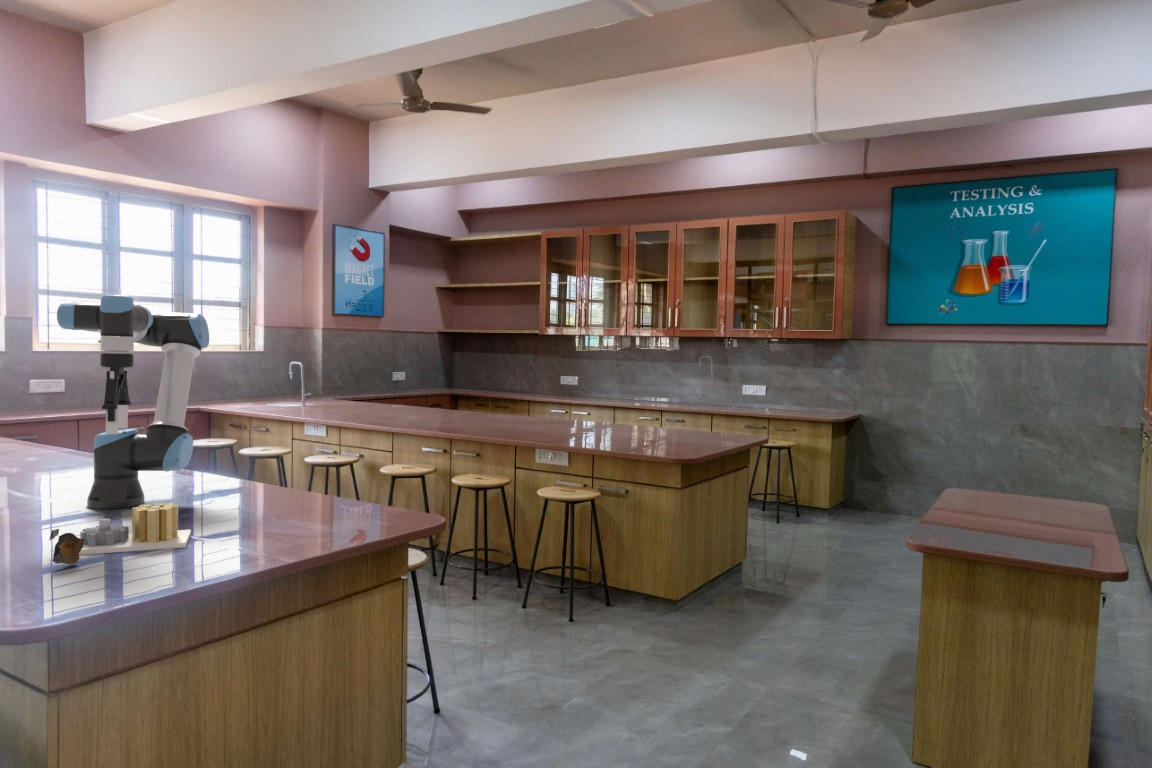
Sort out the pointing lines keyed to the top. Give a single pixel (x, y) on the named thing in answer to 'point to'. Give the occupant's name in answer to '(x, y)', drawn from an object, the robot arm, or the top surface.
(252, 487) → the top surface
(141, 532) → the brass gear
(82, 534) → the gear board
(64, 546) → the rock
